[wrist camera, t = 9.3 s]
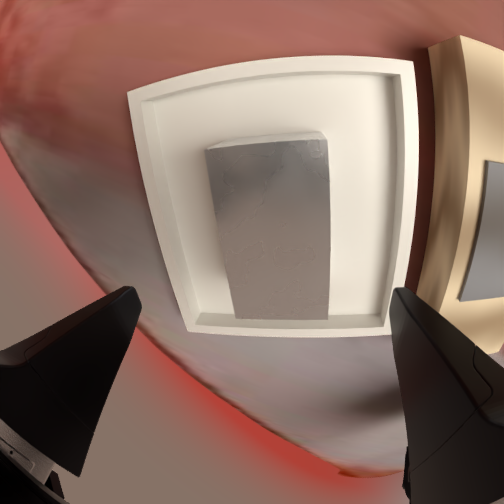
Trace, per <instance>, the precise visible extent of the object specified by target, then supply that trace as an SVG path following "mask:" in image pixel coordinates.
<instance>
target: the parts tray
mask: <svg viewBox="0 0 504 504" xmlns="http://www.w3.org/2000/svg"><path fill="white" fill-rule="evenodd" d="M127 95H128V102H129V108H130V115H131V121H132V126H133V132H134V138H135V143H136V148H137V153H138V158H139V163H140V168H141V172H142V177H143V181H144V186H145V190H146V194H147V199H148V203H149V207H150V211H151V215H152V218H153V222H154V226H155V230H156V233H157V237H158V241H159V244H160V248H161V251H162V255H163V258H164V261H165V265H166V268H167V271H168V274H169V278H170V281H171V284H172V287H173V290H174V293H175V296H176V299H177V302H178V305H179V308H180V311H181V314H182V317H183V320H184V322H185V325H186V328H187V331H188V332H198V333H210V334H223V335H240V336H262V337H355V336H376V335H392V334H391V326H390V318H389V307H390V302H391V297H392V292H393V289H394V288H395V287H404V284H405V279H406V273H407V268H408V262H409V256H410V250H411V243H412V236H413V229H414V220H415V211H416V199H417V185H418V162H419V128H418V106H417V92H416V82H415V73H414V65H413V61H406V60H398V59H389V58H379V57H364V56H300V57H286V58H275V59H265V60H257V61H250V62H243V63H237V64H231V65H225V66H220V67H215V68H210V69H205V70H201V71H196V72H192V73H188V74H184V75H180V76H177V77H173V78H169V79H166V80H162V81H159V82H156V83H153V84H149V85H146V86H143V87H140V88H137V89H135V90H132V91H129V92H127ZM302 132H322V133H323V134H324V136H325V137H326V138H327V141H328V156H329V176H330V210H331V256H330V290H329V310H328V320H262V319H236V318H235V313H234V308H233V304H232V299H231V294H230V289H229V284H228V279H227V274H226V269H225V264H224V259H223V254H222V249H221V243H220V238H219V233H218V227H217V222H216V217H215V211H214V206H213V200H212V194H211V189H210V183H209V177H208V171H207V165H206V159H205V153H204V149H207V148H209V147H211V146H213V145H216V144H218V143H220V142H223V141H225V140H228V139H233V138H241V137H250V136H260V135H272V134H285V133H302Z"/></svg>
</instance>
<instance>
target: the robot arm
mask: <svg viewBox="0 0 504 504" xmlns="http://www.w3.org/2000/svg"><path fill="white" fill-rule="evenodd" d="M141 309H142V305H141V302H140V299H139V297H138V294H137V292H136V289H135V288H134V287H132V286H123V287H121V288H119V289H118V290H116V291H114V292H112V293H110V294H108V295H106V296H104V297H102V298H100V299H99V300H97V301H95V302H93V303H91V304H89V305H88V306H86V307H84V308H82V309H80V310H78V311H76V312H75V313H73V314H71V315H69V316H67V317H65V318H64V319H62V320H60V321H58V322H56V323H55V324H53V325H52V326H49V327H47V328H45V329H44V330H42V331H40V332H38V333H36V334H34V335H33V336H30V337H29V338H27V339H25V340H23V341H21V342H18V343H16V344H14V345H12V346H11V347H9V348H6V349H4V350H1V351H0V504H69V503H68V502H66V501H65V500H64V495H63V492H62V488H61V485H60V481H59V477H58V474H57V473H56V472H54V471H53V470H52V469H53V467H54V465H55V463H56V464H58V465H59V466H61V467H63V468H64V469H66V470H67V471H69V472H71V473H72V474H74V475H75V476H77V477H80V474H81V472H82V468H83V465H84V462H85V459H86V456H87V453H88V450H89V446H90V444H91V441H92V438H93V435H94V433H93V432H95V429H96V426H97V423H98V421H99V418H100V415H101V412H102V410H103V407H104V405H105V402H106V399H107V397H108V394H109V392H110V389H111V387H112V384H113V382H114V379H115V377H116V375H117V372H118V370H119V367H120V365H121V363H122V360H123V358H124V356H125V353H126V351H127V349H128V347H129V344H130V341H131V339H132V336H133V333H134V330H135V327H136V324H137V321H138V318H139V315H140V313H141ZM389 318H390V326H391V334H392V343H393V352H394V359H395V364H396V369H397V374H398V379H399V384H400V390H401V396H402V402H403V408H404V415H405V422H406V430H407V439H408V447H407V451H406V455H405V468H404V478H403V484H402V487H403V489H405V493H406V495H407V497H408V498H409V499H410V504H504V368H503V367H502V366H500V365H499V364H498V363H497V362H495V361H494V360H493V359H492V358H491V357H490V356H489V355H487V354H486V353H485V352H484V351H483V350H482V349H481V348H479V347H478V346H477V345H476V346H475V343H474V342H473V341H471V340H470V339H469V338H468V337H467V336H466V335H464V334H463V333H462V332H461V331H460V330H459V329H457V328H456V327H455V326H454V325H453V324H452V323H450V322H449V321H448V320H447V319H446V318H444V317H443V316H442V315H441V314H440V313H438V312H437V311H436V310H435V309H433V308H432V307H431V306H430V305H428V304H427V303H426V302H425V301H423V300H422V299H421V298H420V297H418V296H417V295H416V294H414V293H413V292H412V291H411V290H409V289H408V288H407V287H395V288H394V289H393V292H392V297H391V302H390V307H389Z"/></svg>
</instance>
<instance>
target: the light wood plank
mask: <svg viewBox="0 0 504 504" xmlns="http://www.w3.org/2000/svg"><path fill="white" fill-rule="evenodd" d="M428 52H429V58H430V65H431V73H432V82H433V93H434V107H435V172H434V187H433V199H432V208H431V217H430V224H429V231H428V238H427V244H426V250H425V255H424V261H423V266H422V270H421V275H420V280H419V284H418V288H417V292H416V295H417V296H418V297H420V298H421V299H422V300H423V301H425V302H426V303H427V304H428V305H430V306H431V307H432V308H433V309H435V310H436V311H437V312H438V313H440V314H441V315H442V316H443V317H444V318H446V319H447V320H448V321H449V322H450V323H452V324H453V325H454V326H455V327H456V328H457V329H459V330H460V331H461V332H462V333H463V334H464V335H466V336H467V337H468V338H469V339H470V340H471V341H473V342H474V343H475V346H476V345H477V346H478V347H479V348H481V349H482V350H483V351H484V352H485V353H486V354H491V353H495V352H498V351H499V350H500V348H501V346H502V344H503V343H504V51H502V50H500V49H497V48H495V47H492V46H490V45H487V44H484V43H482V42H479V41H476V40H473V39H470V38H467V37H464V36H461V35H459V36H456V37H454V38H451V39H448V40H446V41H443V42H441V43H438V44H436V45H433V46H431V47H428Z"/></svg>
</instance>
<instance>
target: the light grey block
mask: <svg viewBox="0 0 504 504" xmlns="http://www.w3.org/2000/svg"><path fill="white" fill-rule="evenodd" d="M204 153H205V159H206V165H207V171H208V177H209V183H210V189H211V194H212V200H213V206H214V211H215V217H216V222H217V227H218V233H219V238H220V243H221V249H222V254H223V259H224V264H225V269H226V274H227V279H228V284H229V289H230V294H231V299H232V304H233V308H234V313H235V318H236V319H262V320H328V310H329V290H330V256H331V210H330V176H329V156H328V141H327V138H326V137H325V136H324V134H323V133H322V132H302V133H285V134H272V135H260V136H250V137H241V138H233V139H228V140H225V141H223V142H220V143H218V144H216V145H213V146H211V147H209V148H207V149H204Z"/></svg>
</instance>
